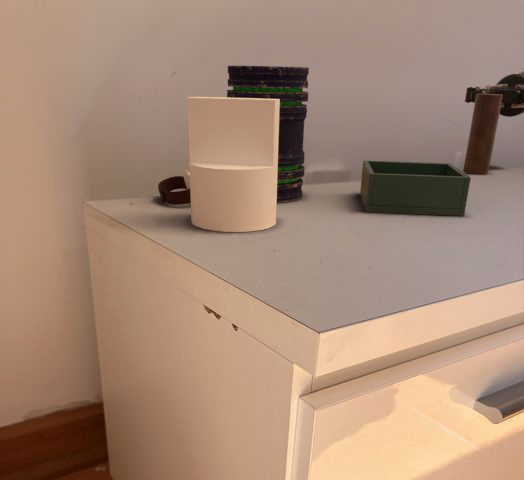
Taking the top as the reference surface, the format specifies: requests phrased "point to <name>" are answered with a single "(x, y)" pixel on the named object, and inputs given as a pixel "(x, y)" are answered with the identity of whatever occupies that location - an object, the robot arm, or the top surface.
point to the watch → (174, 184)
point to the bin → (414, 188)
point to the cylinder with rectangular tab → (233, 162)
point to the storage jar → (290, 116)
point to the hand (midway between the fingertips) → (500, 97)
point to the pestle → (482, 133)
